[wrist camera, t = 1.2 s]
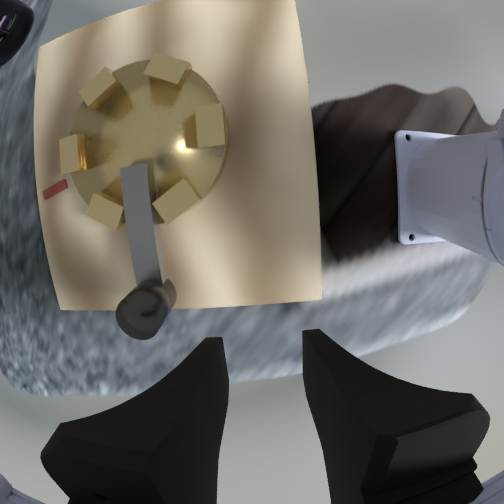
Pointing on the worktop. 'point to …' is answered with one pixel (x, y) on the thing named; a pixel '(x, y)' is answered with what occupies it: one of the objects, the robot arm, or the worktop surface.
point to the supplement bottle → (13, 26)
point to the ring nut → (146, 166)
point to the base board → (233, 175)
